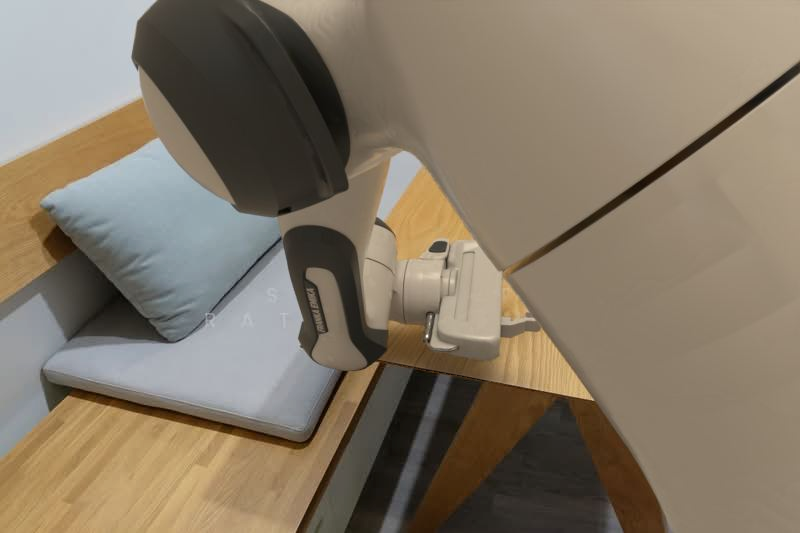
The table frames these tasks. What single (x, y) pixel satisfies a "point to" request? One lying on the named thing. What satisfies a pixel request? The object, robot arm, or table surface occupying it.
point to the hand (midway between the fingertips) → (539, 297)
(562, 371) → the table surface
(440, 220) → the table surface
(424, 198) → the table surface
